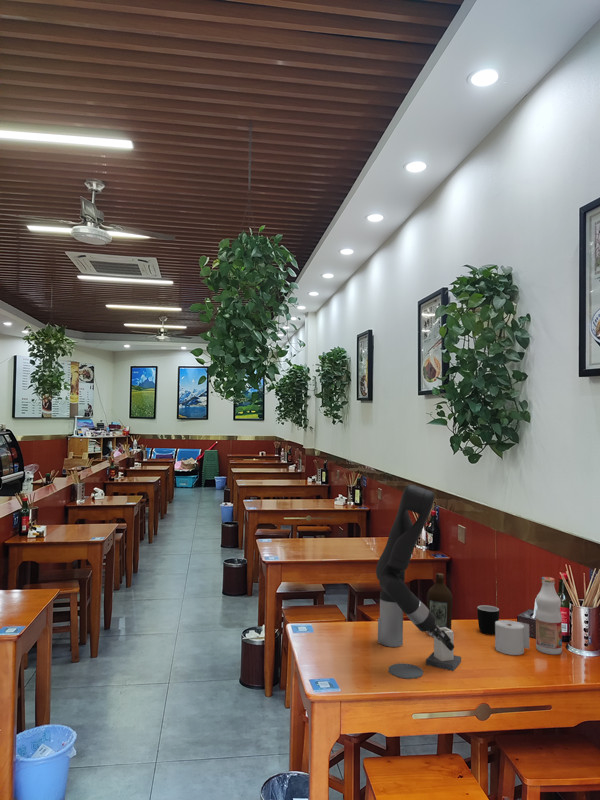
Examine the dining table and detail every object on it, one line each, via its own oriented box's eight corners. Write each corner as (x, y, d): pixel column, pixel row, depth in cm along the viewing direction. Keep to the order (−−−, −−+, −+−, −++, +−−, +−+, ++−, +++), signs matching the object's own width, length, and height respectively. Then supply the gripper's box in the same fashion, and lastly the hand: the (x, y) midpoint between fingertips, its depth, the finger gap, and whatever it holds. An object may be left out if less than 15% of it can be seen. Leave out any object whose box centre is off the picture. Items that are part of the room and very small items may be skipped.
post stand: (425, 665, 205) (426, 636, 206) (434, 656, 213) (434, 629, 214) (453, 671, 200) (453, 642, 201) (461, 662, 208) (461, 634, 209)
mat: (383, 673, 196) (383, 671, 196) (395, 662, 207) (395, 660, 207) (416, 681, 190) (416, 679, 190) (427, 669, 200) (427, 668, 200)
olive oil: (428, 628, 246) (429, 570, 248) (454, 632, 242) (454, 572, 244) (424, 636, 236) (425, 575, 238) (450, 640, 232) (451, 578, 234)
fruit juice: (531, 646, 227) (531, 575, 229) (554, 646, 227) (554, 575, 229) (542, 655, 218) (542, 580, 220) (566, 655, 218) (565, 581, 220)
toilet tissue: (489, 649, 222) (489, 623, 223) (506, 643, 230) (505, 617, 231) (515, 657, 214) (515, 630, 215) (531, 650, 222) (530, 624, 223)
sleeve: (441, 661, 204) (441, 632, 204) (433, 656, 208) (434, 628, 209) (453, 659, 205) (453, 631, 206) (445, 654, 210) (445, 627, 211)
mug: (502, 635, 239) (502, 611, 239) (482, 635, 238) (482, 611, 239) (491, 626, 251) (491, 603, 251) (471, 626, 250) (471, 603, 251)
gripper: (437, 612, 199) (466, 644, 202) (415, 601, 213) (443, 631, 216) (423, 629, 197) (453, 661, 200) (403, 617, 210) (431, 647, 213)
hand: (447, 645), depth 208 cm, fingers closed on sleeve, 5 cm apart
